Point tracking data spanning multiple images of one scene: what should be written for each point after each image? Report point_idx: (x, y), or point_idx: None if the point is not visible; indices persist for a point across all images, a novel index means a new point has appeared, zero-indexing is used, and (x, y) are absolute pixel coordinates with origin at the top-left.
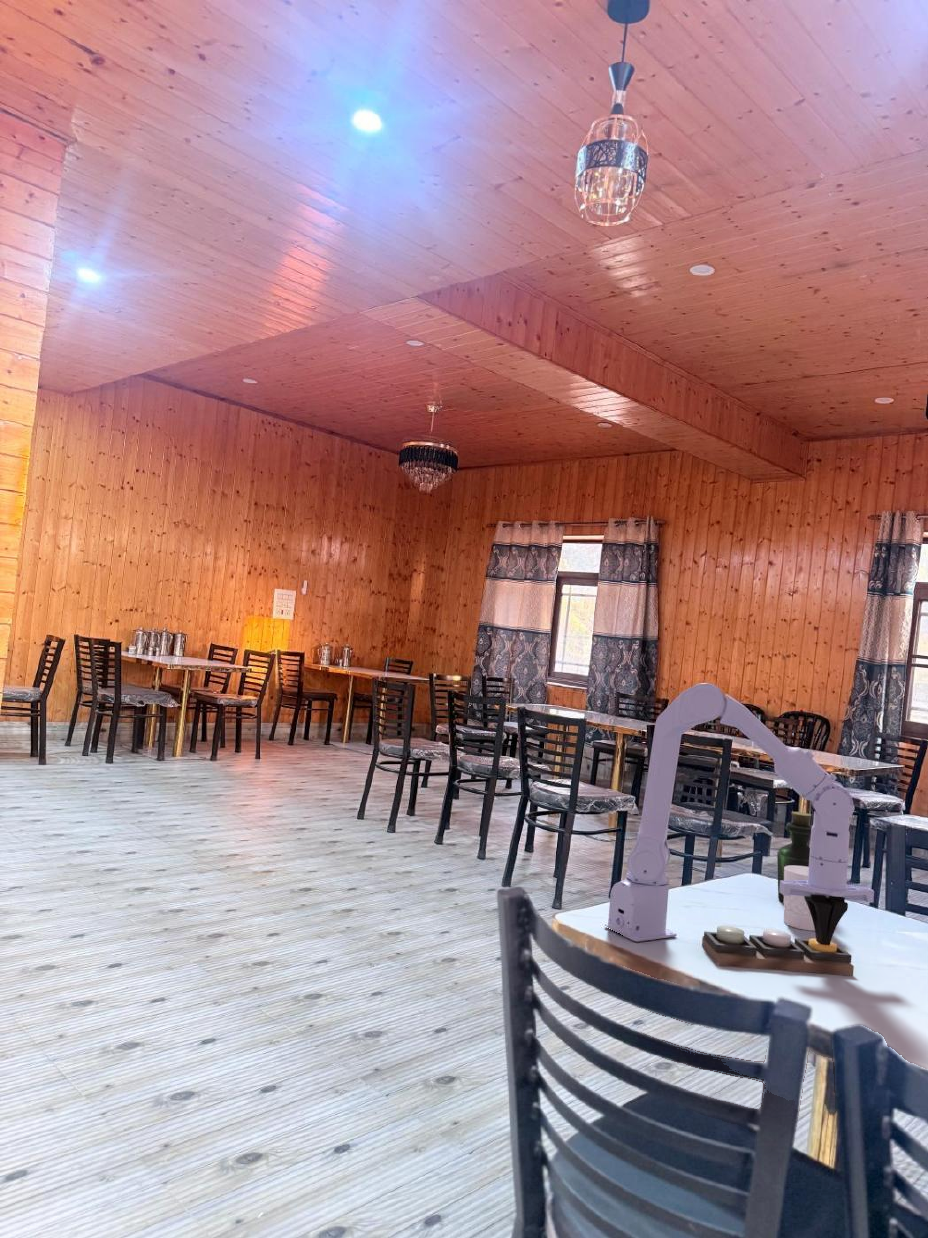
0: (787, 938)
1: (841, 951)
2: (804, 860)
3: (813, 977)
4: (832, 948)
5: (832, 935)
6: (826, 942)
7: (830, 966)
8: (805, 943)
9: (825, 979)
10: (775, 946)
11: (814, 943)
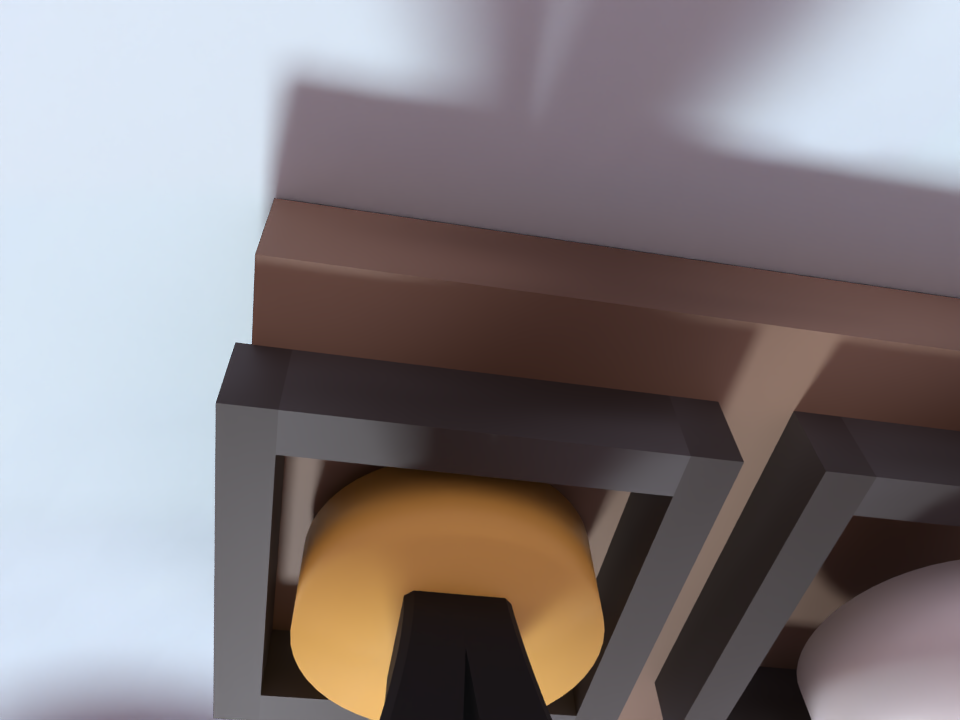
0: None
1: (272, 520)
2: None
3: (831, 144)
4: (418, 529)
5: (393, 696)
6: (462, 617)
7: (552, 283)
8: None
9: (724, 87)
10: None
11: (583, 621)
